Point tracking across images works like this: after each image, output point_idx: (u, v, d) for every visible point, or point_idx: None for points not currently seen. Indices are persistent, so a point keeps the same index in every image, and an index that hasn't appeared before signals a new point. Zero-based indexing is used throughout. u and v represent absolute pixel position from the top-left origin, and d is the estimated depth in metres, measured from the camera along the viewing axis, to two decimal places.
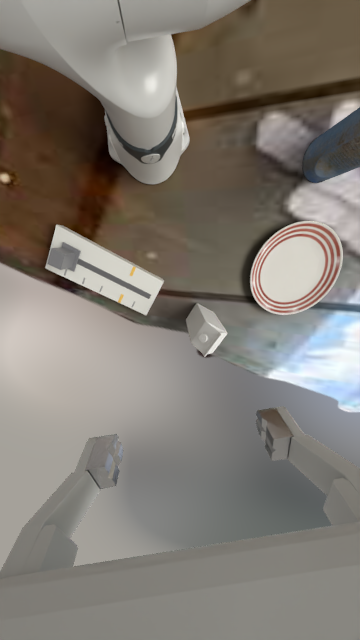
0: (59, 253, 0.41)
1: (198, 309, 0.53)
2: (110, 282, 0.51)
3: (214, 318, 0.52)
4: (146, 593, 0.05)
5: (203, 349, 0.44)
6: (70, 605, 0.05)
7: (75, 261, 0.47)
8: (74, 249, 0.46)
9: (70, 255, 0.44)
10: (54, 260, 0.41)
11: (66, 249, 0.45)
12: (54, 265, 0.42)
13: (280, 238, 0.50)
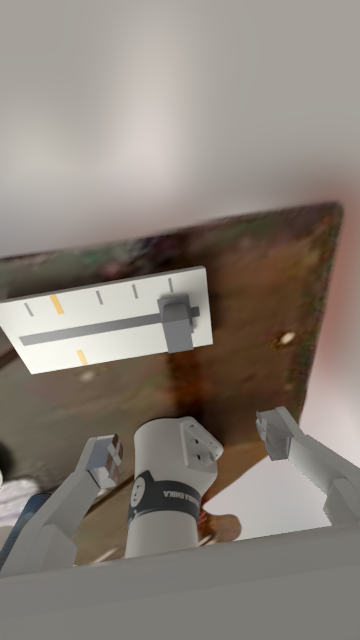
0: (177, 349, 0.21)
1: None
2: (94, 319, 0.26)
3: None
4: (146, 593, 0.05)
5: None
6: (71, 605, 0.05)
7: None
8: None
9: None
10: (179, 333, 0.20)
11: None
12: (175, 324, 0.19)
13: None
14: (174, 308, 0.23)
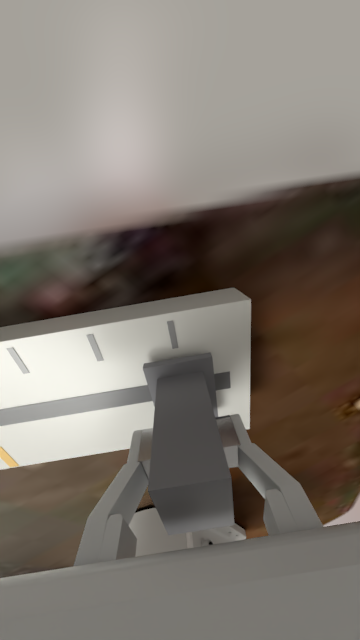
0: (192, 527, 0.08)
1: None
2: (16, 398, 0.12)
3: None
4: (146, 593, 0.05)
5: None
6: (70, 605, 0.05)
7: None
8: None
9: None
10: (200, 504, 0.07)
11: None
12: (190, 490, 0.06)
13: None
14: (182, 393, 0.10)
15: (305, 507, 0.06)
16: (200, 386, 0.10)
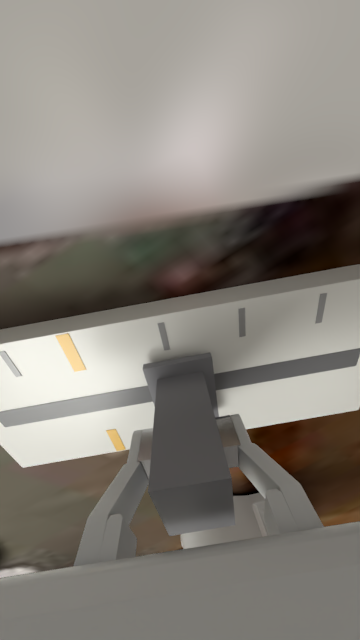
0: (193, 528, 0.08)
1: None
2: None
3: None
4: (146, 593, 0.05)
5: None
6: (70, 605, 0.05)
7: None
8: None
9: None
10: (201, 504, 0.07)
11: None
12: (190, 491, 0.06)
13: None
14: (182, 393, 0.10)
15: (305, 507, 0.06)
16: (200, 386, 0.10)
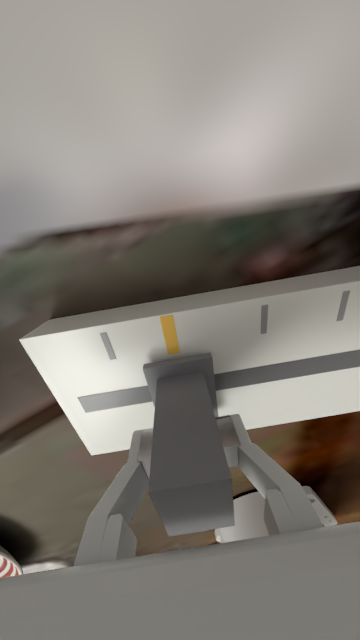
0: (192, 528, 0.08)
1: None
2: (237, 362, 0.12)
3: None
4: (146, 593, 0.05)
5: None
6: (70, 605, 0.05)
7: None
8: None
9: None
10: (201, 504, 0.07)
11: None
12: (190, 491, 0.06)
13: (10, 564, 0.28)
14: (182, 394, 0.10)
15: (305, 507, 0.06)
16: (200, 386, 0.10)
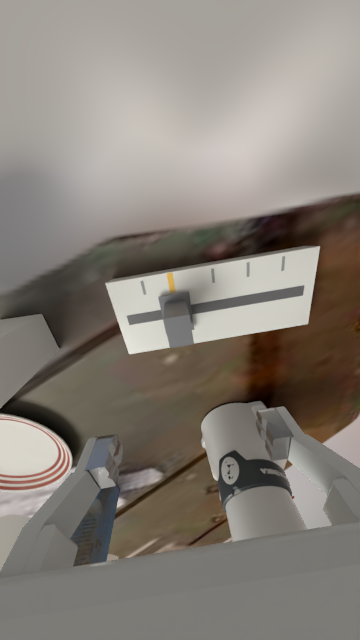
0: (178, 344, 0.21)
1: (38, 367, 0.26)
2: (202, 297, 0.26)
3: None
4: (146, 593, 0.05)
5: None
6: (71, 605, 0.05)
7: (164, 315, 0.26)
8: None
9: None
10: (180, 328, 0.21)
11: None
12: (176, 320, 0.20)
13: (63, 457, 0.42)
14: (175, 304, 0.24)
15: None
16: (183, 302, 0.24)
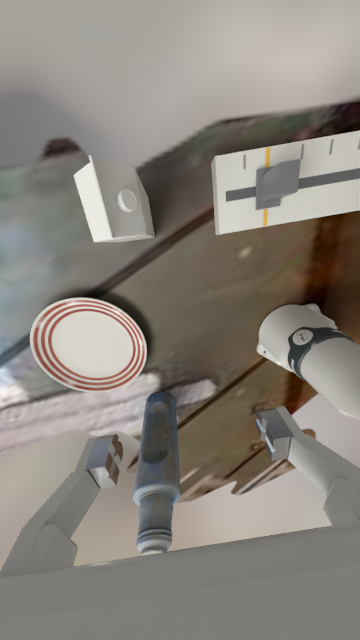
0: (285, 191, 0.27)
1: (152, 233, 0.32)
2: None
3: (122, 240, 0.30)
4: (146, 593, 0.05)
5: (105, 173, 0.18)
6: (70, 605, 0.05)
7: (258, 189, 0.31)
8: (264, 206, 0.32)
9: (268, 196, 0.29)
10: (291, 173, 0.26)
11: (274, 199, 0.31)
12: (289, 164, 0.25)
13: (136, 357, 0.47)
14: None
15: None
16: None
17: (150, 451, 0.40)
